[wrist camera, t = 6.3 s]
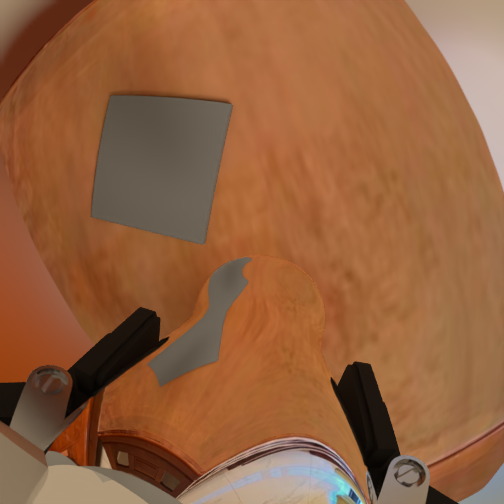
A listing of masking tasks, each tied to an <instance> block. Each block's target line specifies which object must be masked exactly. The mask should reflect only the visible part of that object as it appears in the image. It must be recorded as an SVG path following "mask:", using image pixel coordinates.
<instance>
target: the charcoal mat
mask: <svg viewBox="0 0 504 504" xmlns="http://www.w3.org/2000/svg"><path fill="white" fill-rule="evenodd" d="M232 108H233V105H232V104H228V103H221V102H213V101H204V100H195V99H184V98H171V97H155V96H124V95H111V96H110V100H109V104H108V108H107V113H106V117H105V122H104V127H103V132H102V137H101V143H100V148H99V154H98V161H97V167H96V174H95V182H94V191H93V200H92V211H91V217H93V218H97V219H101V220H105V221H109V222H113V223H117V224H121V225H125V226H129V227H133V228H137V229H141V230H145V231H149V232H153V233H157V234H161V235H165V236H169V237H173V238H178V239H182V240H186V241H190V242H194V243H198V244H202V245H203V244H205V241H206V235H207V230H208V224H209V218H210V213H211V208H212V202H213V197H214V192H215V187H216V182H217V177H218V172H219V167H220V162H221V157H222V153H223V148H224V143H225V139H226V134H227V130H228V125H229V121H230V116H231V112H232Z"/></svg>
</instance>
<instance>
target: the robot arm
mask: <svg viewBox="0 0 504 504" xmlns="http://www.w3.org/2000/svg"><path fill="white" fill-rule="evenodd" d="M159 332H160V317H157V315H156V312H155V311H152V310H149V309H146V308H143V307H140V308H138V309H137V310H136V311H135V312H134V313H133V314H132V315H131V316H130V317H128V318H127V319H126V320H125V321H124V322H123V323H122V324H121V325H120V326H118V327H117V328H116V329H115V330H114V331H113V332H112V333H109V334H107V335H106V336H105V337H103V338H102V339H101V340H100V341H99V342H98V343H97V344H96V345H95V346H94V347H92V348H91V349H90V350H89V351H88V352H87V353H86V354H85V355H84V356H83V357H82V358H80V359H79V360H78V361H77V362H76V363H75V364H74V365H73V366H72V367H71V368H70V369H69V370H68V371H66V370H65V369H63V368H61V367H58V366H55V365H45V366H40V367H38V368H36V369H35V370H33V371H32V372H31V374H30V375H29V377H28V379H27V381H26V382H17V383H0V504H26V502H27V500H28V499H29V497H30V495H31V493H32V491H33V490H34V488H35V487H36V485H37V484H38V482H39V481H40V479H41V478H42V476H43V475H44V473H45V472H46V470H47V469H48V466H47V462H46V459H45V456H44V452H43V450H41V449H40V448H39V447H40V446H41V445H42V444H43V442H44V441H45V440H46V439H47V438H48V437H49V436H50V435H51V434H52V433H53V432H54V431H55V429H56V428H57V427H58V426H59V425H60V424H61V423H62V422H63V421H64V420H65V419H66V418H67V417H68V416H69V415H70V414H71V413H72V412H73V411H74V410H75V409H76V407H77V406H78V405H79V404H80V403H81V402H82V401H83V400H84V399H86V398H87V397H88V396H89V395H90V394H92V393H93V392H94V391H95V390H96V389H98V388H99V387H100V386H101V385H103V384H104V383H105V382H106V381H107V380H109V379H110V378H111V377H112V376H113V375H115V374H116V373H117V372H118V371H119V370H121V369H122V368H123V367H124V366H126V365H127V364H129V363H130V362H131V361H133V360H134V359H135V358H137V357H138V356H140V355H141V354H142V353H144V352H145V351H146V350H148V349H149V348H151V347H152V346H153V345H155V344H156V343H158V342H159ZM338 388H339V390H340V393H341V395H342V397H343V399H344V402H345V404H346V406H347V408H348V411H349V413H350V415H351V417H352V420H353V422H354V424H355V427H356V429H357V432H358V435H359V438H360V441H361V443H362V446H363V449H364V452H365V455H366V458H367V461H368V464H369V467H370V470H371V473H372V477H373V482H374V487H375V492H376V497H377V502H378V504H458V503H457V502H455V501H453V500H452V499H450V498H448V497H447V496H445V495H444V494H442V493H440V492H439V491H437V490H436V489H434V488H433V487H431V486H429V481H430V472H429V470H428V467H427V466H426V465H425V463H424V462H422V461H421V460H420V459H418V458H416V457H414V456H409V455H402V456H401V455H400V452H399V448H398V444H397V441H396V437H395V434H394V431H393V427H392V424H391V421H390V417H389V414H388V411H387V408H386V405H385V403H384V402H383V400H382V397H381V394H380V391H379V388H378V385H377V382H376V379H375V376H374V373H373V370H372V367H371V365H370V364H368V363H362V362H356V361H355V362H354V363H353V364H352V365H348V366H347V367H346V369H345V371H344V373H343V375H342V378H341V380H340V382H339V384H338Z"/></svg>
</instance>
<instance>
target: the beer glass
mask: <svg viewBox="0 0 504 504" xmlns="http://www.w3.org/2000/svg"><path fill="white" fill-rule="evenodd" d="M324 329H325V306H324V302H323V299H322V296H321V293H320V291H319V289H318V287H317V286H316V284H315V283H314V281H313V280H312V279H311V278H310V277H309V276H308V275H307V274H306V273H305V272H304V271H303V270H302V269H300V268H299V267H298V266H296V265H294V264H293V263H291V262H289V261H286V260H284V259H281V258H278V257H274V256H268V255H249V256H243V257H240V258H236V259H233V260H231V261H229V262H227V263H225V264H223V265H222V266H220V267H219V268H218V269H216V270H215V271H214V272H213V273H212V274H211V275H210V276H209V278H208V279H207V280H206V282H205V283H204V285H203V287H202V289H201V291H200V293H199V296H198V299H197V302H196V305H195V309H194V312H193V314H192V316H191V317H190V318H189V319H188V320H187V321H186V322H185V323H184V324H182V325H181V326H180V327H179V328H177V329H176V330H175V331H173V332H172V333H170V334H169V335H167V336H166V337H165V338H163V339H162V340H160V341H159V342H158V343H156V344H155V345H153V346H152V347H151V348H149V349H148V350H146V351H145V352H144V353H142V354H141V355H140V356H138V357H137V358H135V359H134V360H133V361H131V362H130V363H129V364H127V365H126V366H124V367H123V368H122V369H121V370H119V371H118V372H117V373H116V374H115V375H113V376H112V377H111V378H110V379H109V380H107V381H106V382H105V383H104V384H103V385H101V386H100V387H99V388H98V389H96V390H95V391H94V392H93V393H92V394H90V395H89V396H88V397H87V398H86V399H84V400H83V401H82V402H81V403H80V404H79V405H78V406H77V407H76V409H75V410H74V411H73V412H72V413H71V414H70V415H69V416H68V417H67V418H66V419H65V420H64V421H63V422H62V423H61V424H60V425H59V426H58V427H57V428H56V429H55V431H54V432H53V433H52V434H51V435H50V436H49V437H48V438H47V439H46V440H45V441H44V442H43V444H42V445H41V446H40V447H39V448H40V449H41V450H43V452H44V456H45V459H46V462H47V466H48V469H47V470H46V472H45V473H44V475H43V476H42V478H41V479H40V481H39V482H38V484H37V485H36V487H35V488H34V490H33V491H32V493H31V495H30V497H29V499H28V500H27V502H26V504H378V502H377V497H376V492H375V487H374V482H373V477H372V473H371V470H370V467H369V464H368V461H367V458H366V455H365V452H364V449H363V446H362V443H361V441H360V438H359V435H358V432H357V429H356V427H355V424H354V422H353V420H352V417H351V415H350V413H349V411H348V408H347V406H346V404H345V402H344V399H343V397H342V395H341V393H340V390H339V388H338V386H337V384H336V382H335V380H334V378H333V376H332V374H331V372H330V369H329V367H328V365H327V363H326V361H325V358H324V356H323V354H322V350H321V343H322V338H323V334H324Z"/></svg>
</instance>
